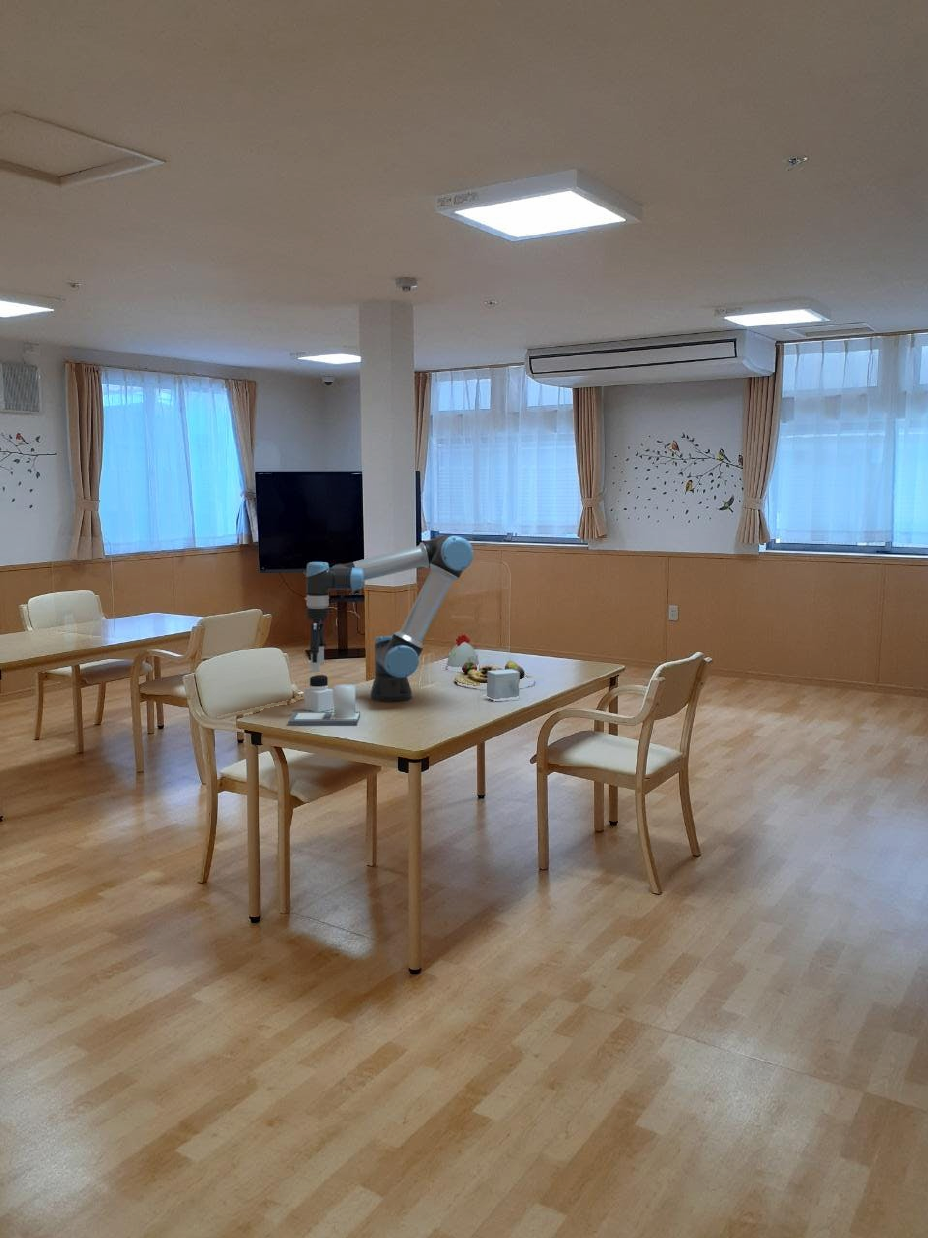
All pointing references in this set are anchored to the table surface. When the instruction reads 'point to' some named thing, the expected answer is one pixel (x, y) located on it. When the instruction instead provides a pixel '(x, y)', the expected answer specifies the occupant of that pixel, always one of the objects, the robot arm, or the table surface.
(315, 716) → the dock board
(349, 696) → the plastic jar
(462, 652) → the white dome figure
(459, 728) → the table surface
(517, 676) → the skincare box
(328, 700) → the medicine bottle
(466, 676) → the wooden plate with food
